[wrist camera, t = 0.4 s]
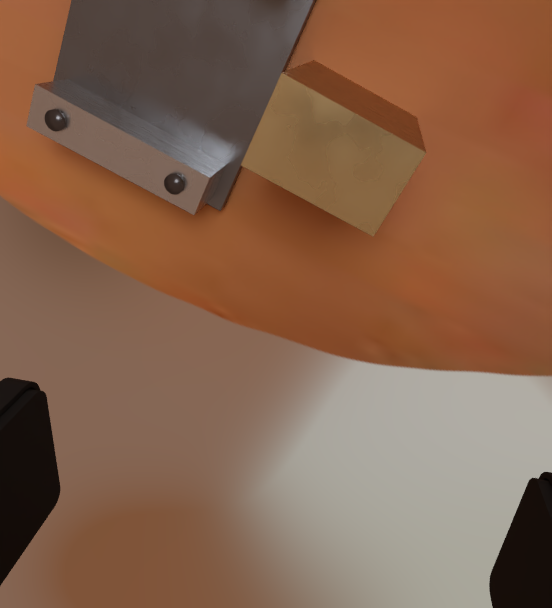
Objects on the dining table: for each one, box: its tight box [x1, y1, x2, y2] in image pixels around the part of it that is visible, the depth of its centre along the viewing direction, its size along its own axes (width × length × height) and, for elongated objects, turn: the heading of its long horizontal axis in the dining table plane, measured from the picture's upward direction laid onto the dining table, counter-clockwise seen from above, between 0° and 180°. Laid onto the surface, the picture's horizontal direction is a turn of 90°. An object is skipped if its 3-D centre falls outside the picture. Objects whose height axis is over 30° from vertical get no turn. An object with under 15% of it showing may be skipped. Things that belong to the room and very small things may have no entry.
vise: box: [27, 0, 316, 215], centre depth 34 cm, size 20×15×6 cm
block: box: [241, 60, 426, 237], centre depth 32 cm, size 5×8×12 cm, turn 64°
